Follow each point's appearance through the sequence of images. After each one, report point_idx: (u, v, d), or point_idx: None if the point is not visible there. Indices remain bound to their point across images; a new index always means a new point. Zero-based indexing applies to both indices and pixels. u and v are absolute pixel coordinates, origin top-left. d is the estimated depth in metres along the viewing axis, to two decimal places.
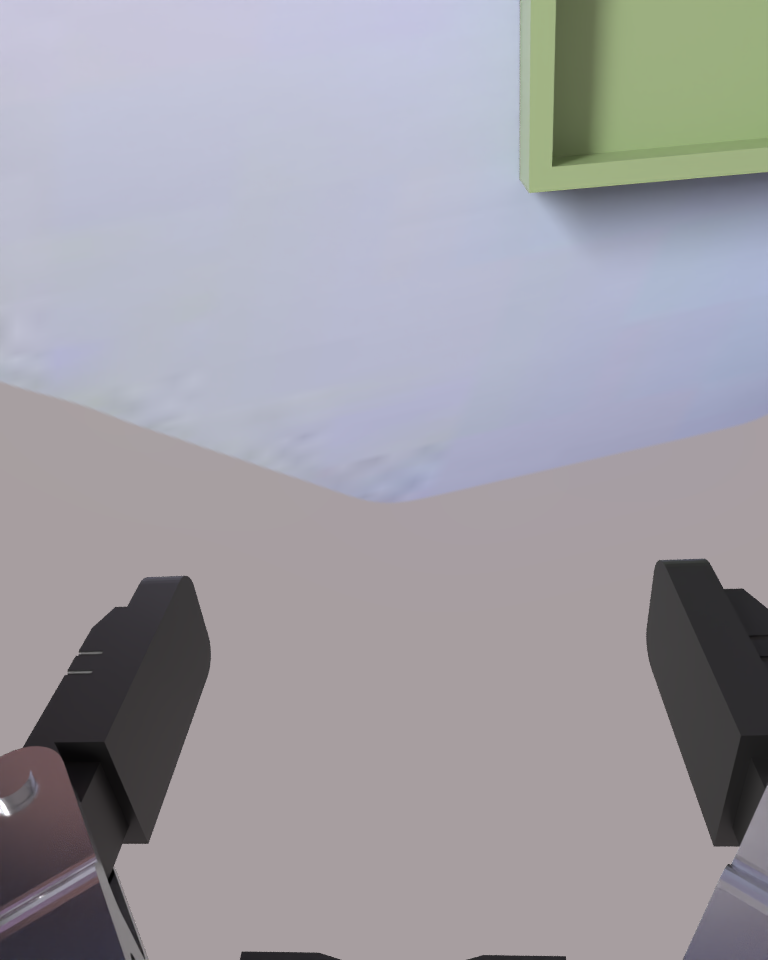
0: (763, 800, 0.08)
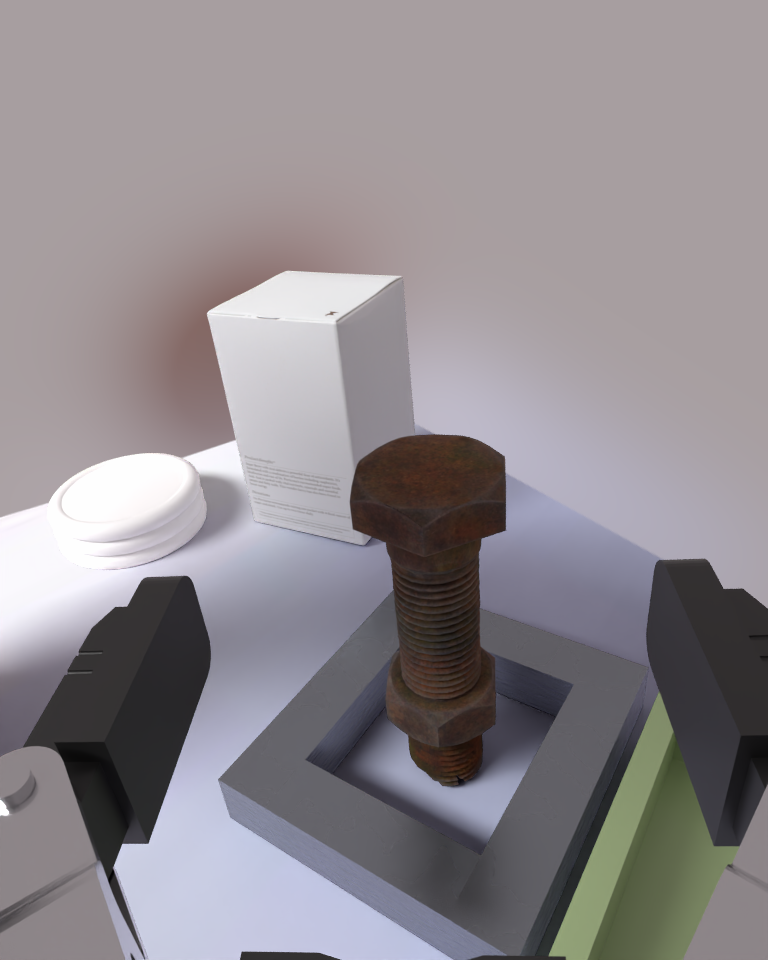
0: (763, 800, 0.08)
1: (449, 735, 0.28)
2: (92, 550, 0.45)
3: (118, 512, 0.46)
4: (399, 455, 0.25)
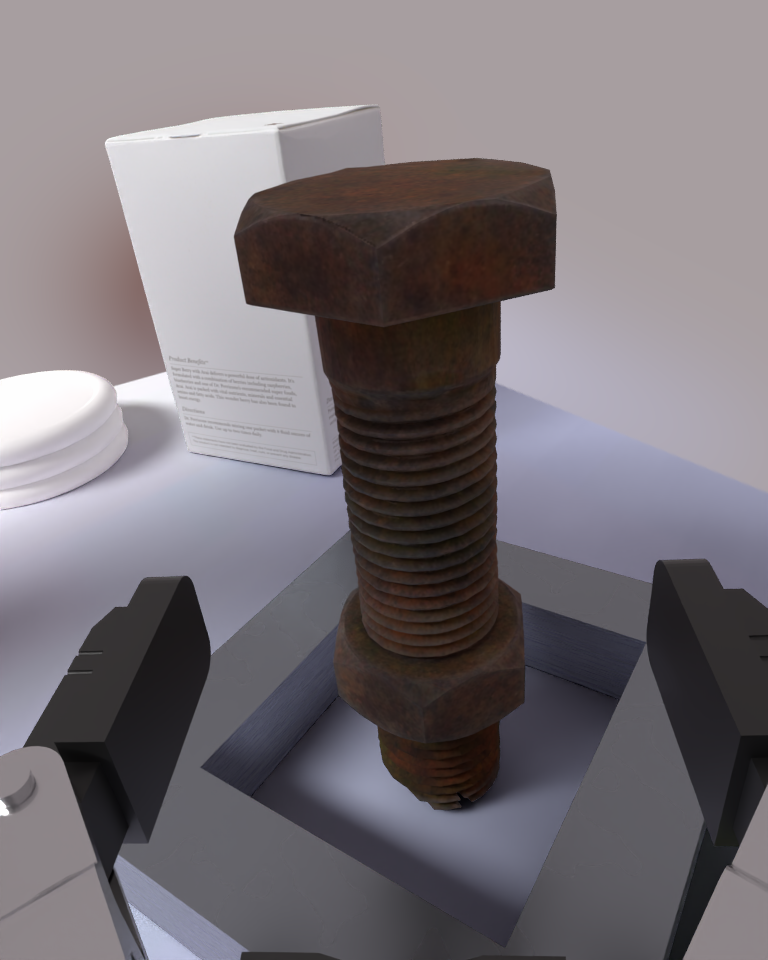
0: (763, 800, 0.08)
1: (444, 722, 0.16)
2: None
3: None
4: (343, 179, 0.13)
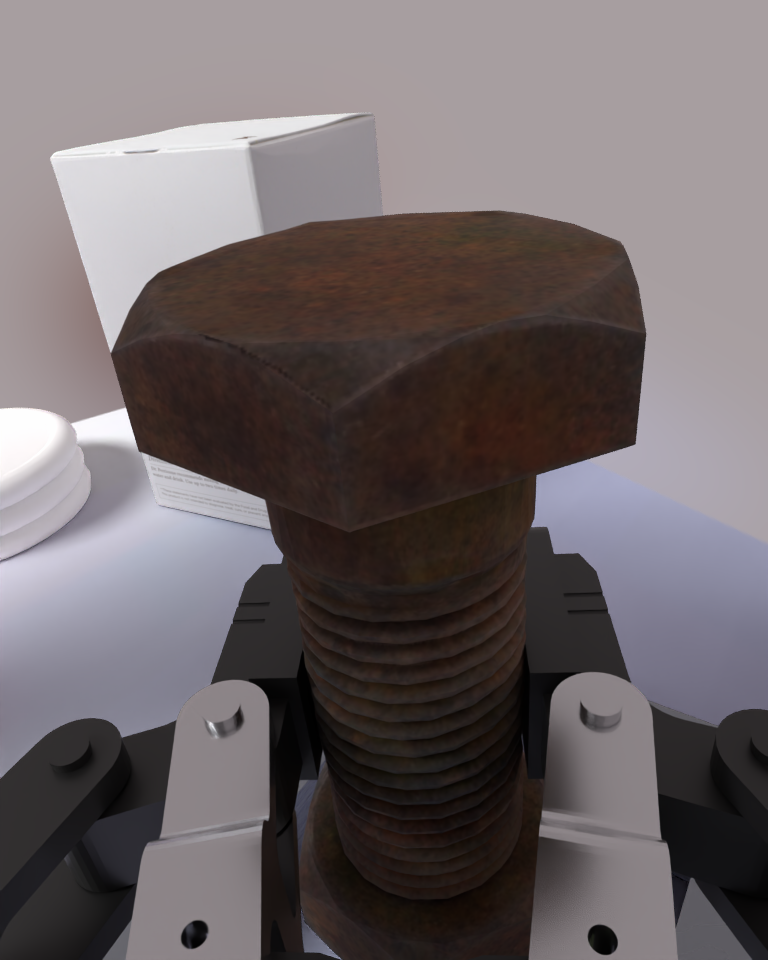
0: (549, 749, 0.08)
1: None
2: None
3: None
4: (298, 245, 0.09)
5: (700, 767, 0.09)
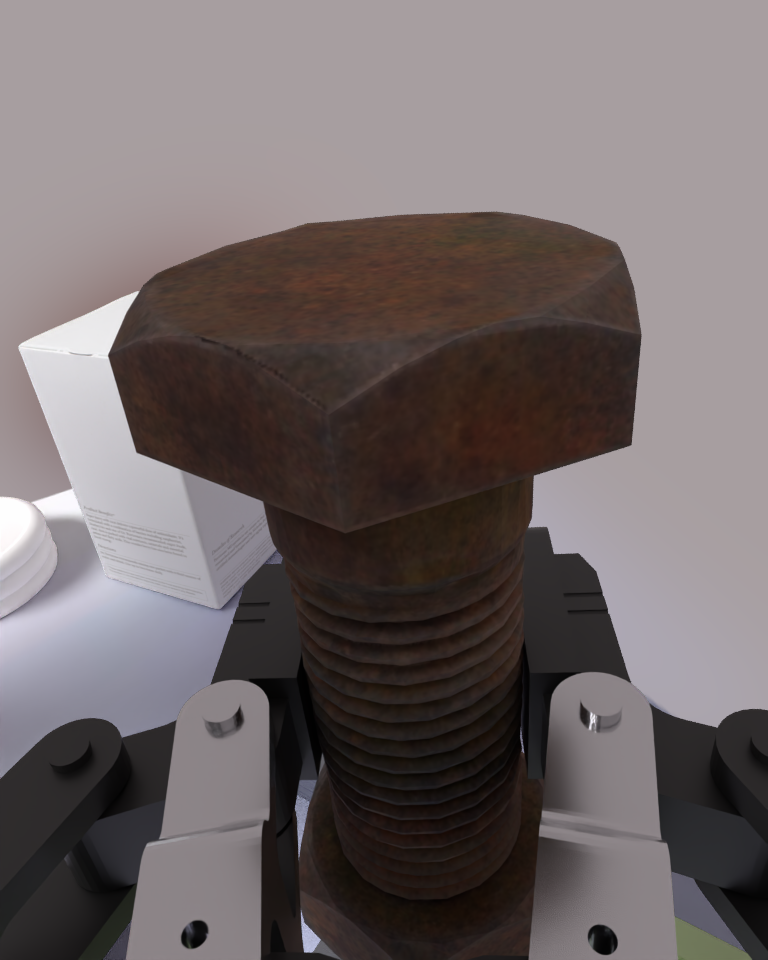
0: (549, 749, 0.09)
1: None
2: None
3: None
4: (296, 247, 0.09)
5: (700, 767, 0.09)
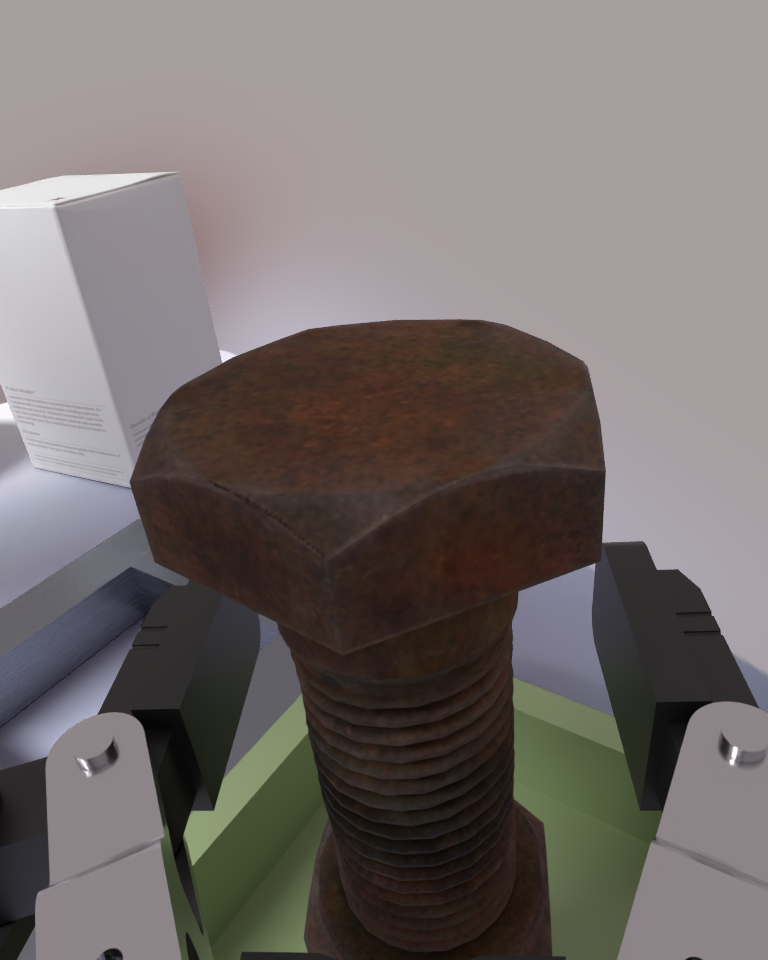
0: (676, 770, 0.08)
1: None
2: None
3: None
4: (297, 362, 0.09)
5: None
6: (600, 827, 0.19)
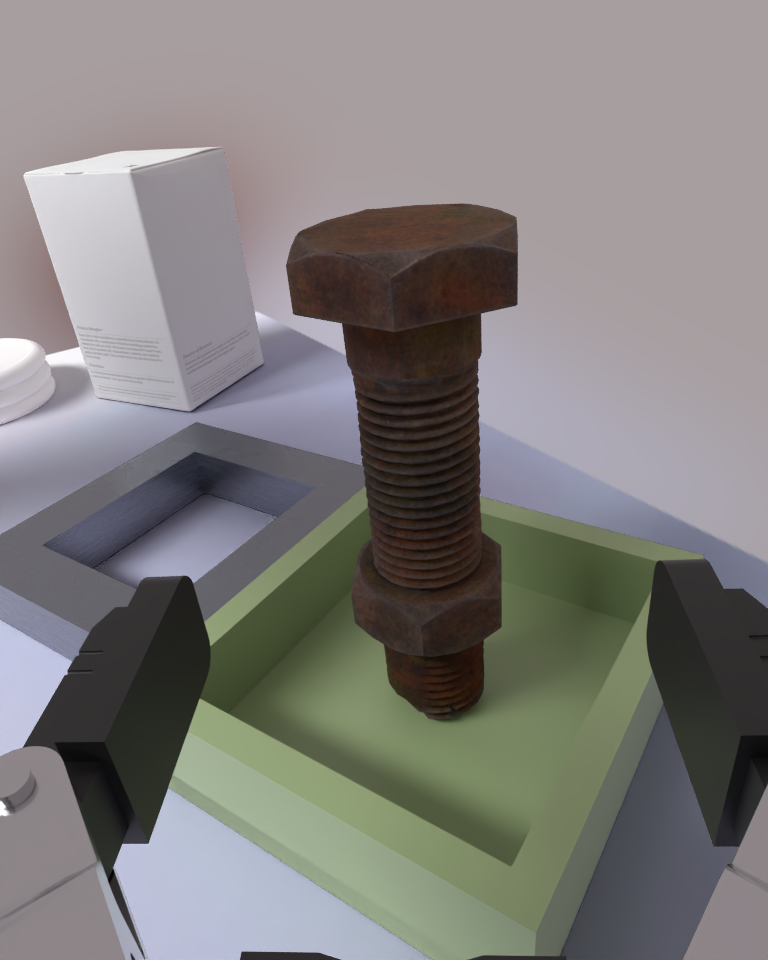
0: (763, 800, 0.08)
1: (438, 639, 0.20)
2: None
3: None
4: (363, 220, 0.17)
5: None
6: (547, 598, 0.27)
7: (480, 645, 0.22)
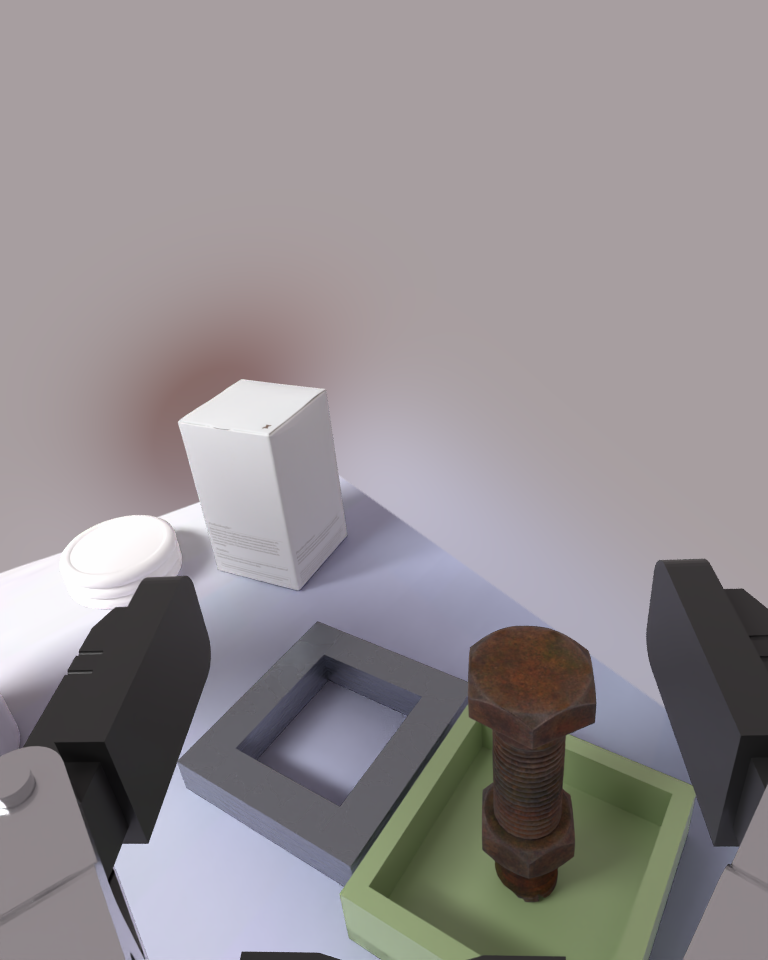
0: (763, 800, 0.08)
1: (537, 869, 0.33)
2: (94, 595, 0.60)
3: (113, 566, 0.61)
4: (502, 650, 0.31)
5: None
6: (592, 799, 0.41)
7: None
